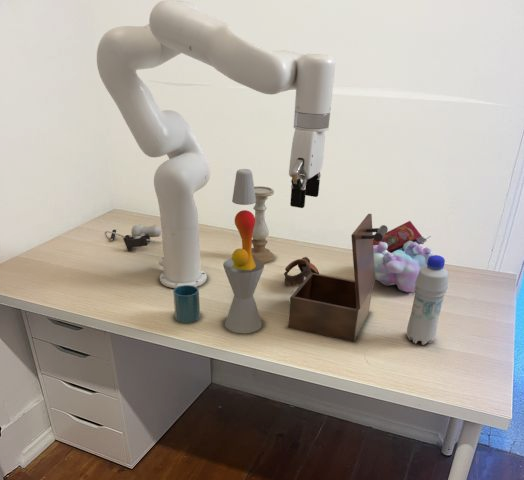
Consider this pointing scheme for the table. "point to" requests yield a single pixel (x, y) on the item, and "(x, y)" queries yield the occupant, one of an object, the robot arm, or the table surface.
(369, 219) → the lid
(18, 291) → the table surface
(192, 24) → the robot arm
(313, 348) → the table surface
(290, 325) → the chest
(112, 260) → the table surface
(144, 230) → the clip-on lamp
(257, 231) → the candle holder
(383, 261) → the iridescent bubble cluster
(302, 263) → the pottery mug
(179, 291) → the cup
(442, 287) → the bottle
